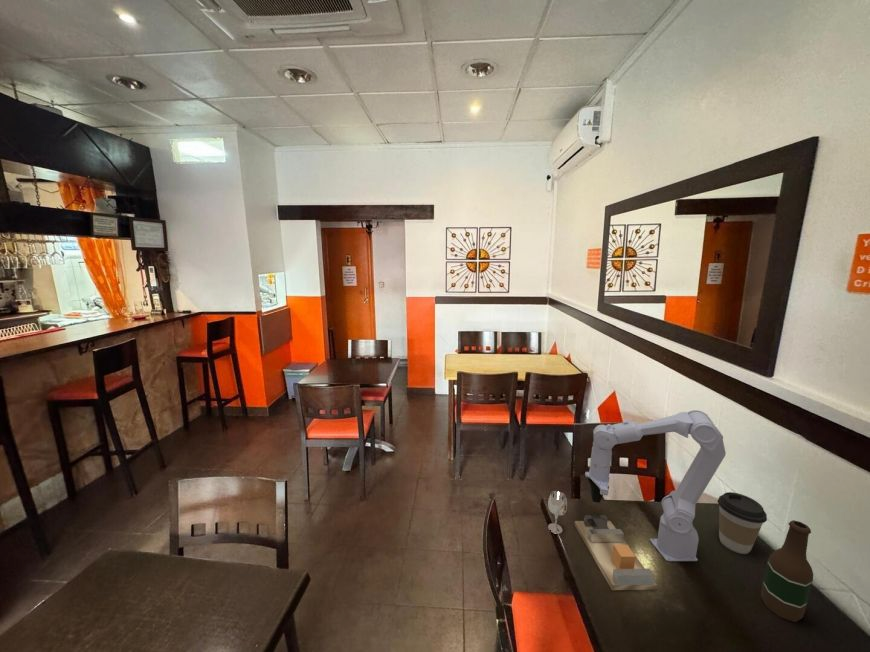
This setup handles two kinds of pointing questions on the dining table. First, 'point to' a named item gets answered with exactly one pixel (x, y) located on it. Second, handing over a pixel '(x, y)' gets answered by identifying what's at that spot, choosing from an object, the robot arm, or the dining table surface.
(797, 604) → the beer bottle
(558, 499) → the wineglass
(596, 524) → the moving jaw
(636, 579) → the fixed jaw
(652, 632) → the dining table surface
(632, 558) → the orange block
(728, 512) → the coffee cup
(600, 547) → the vise bed
